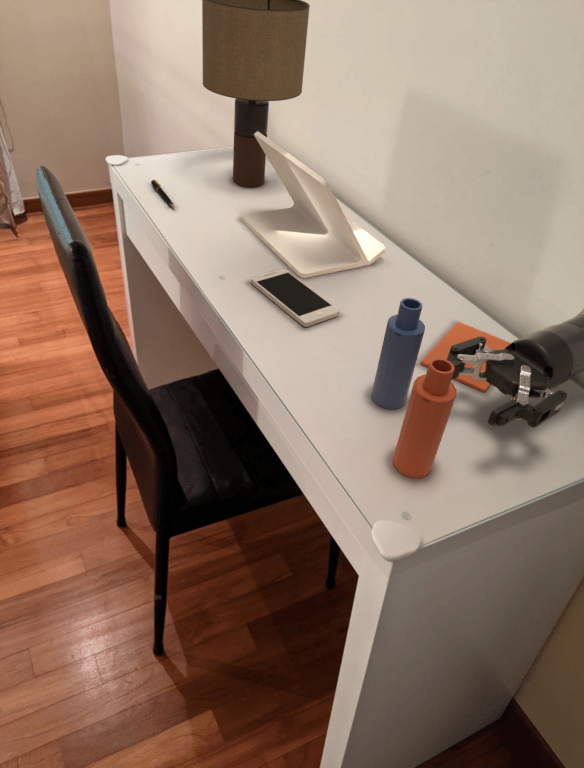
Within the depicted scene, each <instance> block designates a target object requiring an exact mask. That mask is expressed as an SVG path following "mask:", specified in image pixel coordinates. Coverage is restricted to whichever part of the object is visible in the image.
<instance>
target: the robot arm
mask: <svg viewBox="0 0 584 768" xmlns="http://www.w3.org/2000/svg"><path fill="white" fill-rule="evenodd" d="M486 341H487V339H486V338H485V337H482V336H479V337H476V338H473V339H470V340H467V341H464V342H461V343H458V344H455V345H452V346H451V347H450V351H449V354H448V357H447V360H448V361H450V362H451V363H452V364H453V365H454V369H455V370H454V373H453V376H452V379H451V381H452V380H455V379H454V378H457V377H458V376H459V375H461V376H471V377H472V379H473V380H481V381H487V382H488V383H489V384H490V386H493V387H495V388H496V389H497V390H498V391H499V392H500V393H502V394H503V395H504V396H507V395H508V396H511V397H510V401H508V402H506V403H503V404H502V405H499V406H498V407H496V408H494V409H493V410H491V412H490V414H489V417H488V420H487V424H488V425H489V426H491V427H492V428H494V427H496V426H498V427H504V426H506V425H508V424H509V423H512V422H513V421H515V420H516V421H520V420H524V421H526V424H527V425H528V426H529V427H531V428H537V427H539V426H540V425H542V424H543V423H544V422H547V420H549V419H551V418H552V417H554V416H556V415H557V414H558V413H560V412H561V410H562V408H563V406H564V404H565V402H566V400H567V398H568V396H569V395H568V393H567V392H566V391H564V390H557V391H556V392H555V391H553V389H555V388H557V387H560V386H561V385H563V384H565V383H567V382H569V381H572V380H573V379H574V378H576V377H578V376H580V374H581V373H583V372H584V307H583V308H582V309H581V310H580V312H578V313H577V314H576V315H575V316H573V317H572V318H570V319H567V320H564V321H562V322H560V323H557V324H552V325H548V326H546V327H543V328H542V329H538V330H537V331H534V332H532V333H529V334H528V335H525V336H523V337H520V338H518V339H516V340H513V341H512V342H510V343H511V344H509V345H508V346H507V347H506V348H504V349H500V350H497V349H496V350H492V349H490V348H489V347H488V346H486V345H485V344H486ZM485 362H486V368H485V372H480V370H481V367H482V365H483V363H485ZM465 363H468V364H473V365H472V367H470V368H467V367H464V366H465ZM530 398H532V399H538V398H542V400H541V401H539V402H538V403H536V404H535V405H532V404H530V403H529V402H530V401H529V399H530Z"/></svg>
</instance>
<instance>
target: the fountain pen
mask: <svg viewBox="0 0 584 768" xmlns="http://www.w3.org/2000/svg"><path fill="white" fill-rule="evenodd" d="M150 183H151V185H152V187H153V188H154V190H155V191H156V192H157V193H158V194H159V195H160V196H161V198H162V199H163V200H164V201H165V202H166V203H167V204H168V206H170V207H173V208H175V207H176V206H175V205H174V202H173V201H172V199H171V198H170V197H169V195H167V193H166V192H165V191H164V190H163V188H162V187H161V186H162V185H161V184H160V183H159V182H158V181H157V180H156V179H152V180H151V181H150Z"/></svg>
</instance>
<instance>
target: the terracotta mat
mask: <svg viewBox="0 0 584 768" xmlns="http://www.w3.org/2000/svg"><path fill="white" fill-rule="evenodd" d="M479 336H482V337H485V338H486V339H487V341H486V344H485V345H486V346H488V347H489V348H490V349H492V350H496V349H497V350H500V349H504V348H506V347H507V346H508V345H509V344H511V343H512V342H510V341H507V340H505V339H502V338H499V337H497V336H494V335H492V334H490V333H487V332H485V331H482V330H480V329H477V328H474V327H472V326H469V325H467V324H465V323H463V322H460V321H457V322H456V323H455V324H454V325H453V326H452V327H451V328H450V330H449V331H448V332H447V333H446V334H445V335H444V336H443V337H442V338H441V340H439V341H438V343H436V345H435V346H434V347H433V348H432V349H431V350H430V351H429V352H428V353H427V354H426V355H425V356H424V357H423V358H422V360H420V365H422V366H423V367H426V368H428V366H429V362H430V361H431V360H432V359H436V358H441V359H445V360H447V357H448V354H449V351H450V347H451V346H452V345H455V344H458V343H461V342H464V341H467V340H470V339H473V338H476V337H479ZM472 365H473V364H468V363H465V366H464V367H467V368H470V367H472ZM485 368H486V362H485V363H483V365H482V367H481V370H480V372H485ZM453 380H455V381H456V382H460V383H462V384H464V385H466V386H468V387H471V388H472V389H475V390H477V391H479V392H481V393H486V392H487V390H488V389H489V387H490V386H491V384H489V383H488V382H487V381H481V380H473V379H472V377H471V376H461V375H459V376H458V377H457V378H454V379H453Z"/></svg>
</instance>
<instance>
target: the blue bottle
mask: <svg viewBox="0 0 584 768" xmlns="http://www.w3.org/2000/svg"><path fill="white" fill-rule="evenodd" d="M399 302H400V303H399V307H398V311H397V314H394V315H391V316H390V317H389V318H388V319H387V323H386V327H385V332H384V336H383V341H382V344H381V349H380V355H379V359H378V363H377V368H376V372H375V377H374V382H373V386H372V389H371V399H372V401H373V403H375V405H377V406H378V407H380V408H383V409H387V410H398V409H400V408H402V407H403V406H404V405H405V403H406V400H407V397H408V394H409V391H410V387H411V382H412V379H413V375H414V372H415V368H416V364H417V361H418V356H419V353H420V349H421V345H422V343H423V338H424V335H425V331H426V325H425V323H424V322H423V321H422V320H421V319H420V317H421V315H422V314H421V313H422V310H423V303H422V302H421V301H420V300H418V299H416V298H413V297H405V298H402V299H401V300H400V301H399Z"/></svg>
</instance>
